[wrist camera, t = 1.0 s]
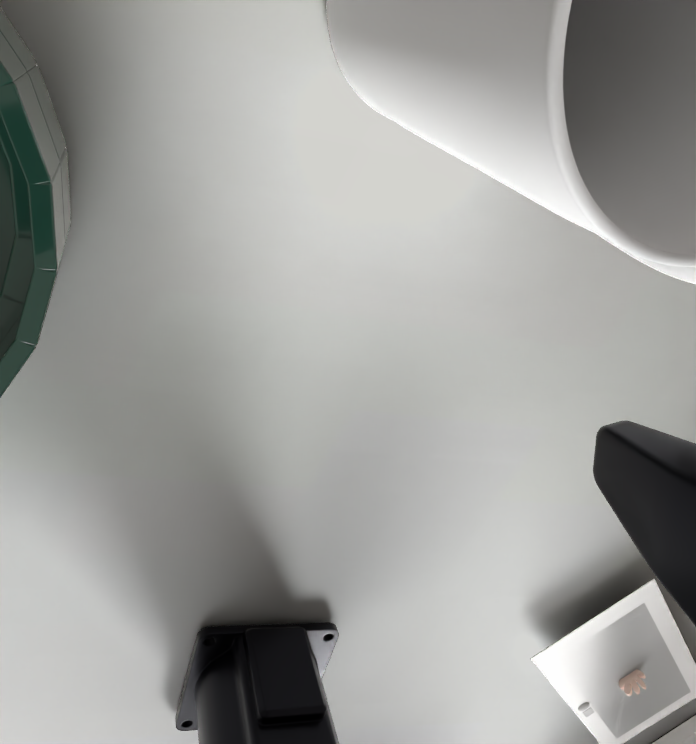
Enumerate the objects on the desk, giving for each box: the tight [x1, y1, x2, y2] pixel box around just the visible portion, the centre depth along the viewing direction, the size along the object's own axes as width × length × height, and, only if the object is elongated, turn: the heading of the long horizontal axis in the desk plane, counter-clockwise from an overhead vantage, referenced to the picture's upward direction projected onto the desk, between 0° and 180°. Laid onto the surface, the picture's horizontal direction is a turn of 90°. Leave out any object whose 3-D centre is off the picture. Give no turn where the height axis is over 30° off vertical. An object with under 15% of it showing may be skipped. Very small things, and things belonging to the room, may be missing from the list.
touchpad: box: [530, 579, 696, 744], centre depth 39 cm, size 8×15×2 cm, turn 31°
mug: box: [326, 0, 696, 284], centre depth 14 cm, size 10×7×12 cm, turn 34°
